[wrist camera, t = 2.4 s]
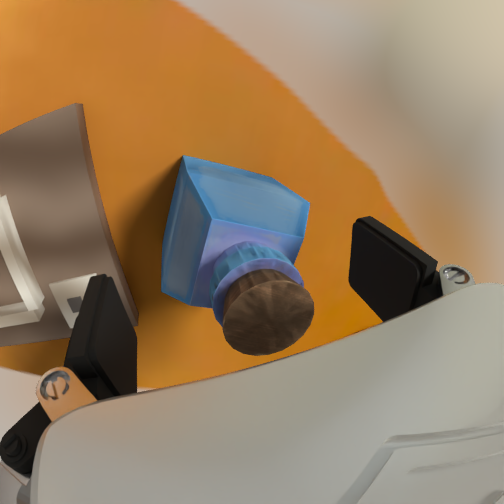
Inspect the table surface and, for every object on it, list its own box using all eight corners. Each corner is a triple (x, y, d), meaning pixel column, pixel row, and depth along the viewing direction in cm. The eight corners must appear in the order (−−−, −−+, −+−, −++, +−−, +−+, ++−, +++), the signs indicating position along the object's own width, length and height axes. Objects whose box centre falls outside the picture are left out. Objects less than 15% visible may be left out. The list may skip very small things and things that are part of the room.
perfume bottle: (271, 177, 20) (379, 253, 10) (245, 257, 22) (311, 380, 12) (183, 155, 18) (198, 212, 7) (162, 242, 20) (163, 378, 10)
